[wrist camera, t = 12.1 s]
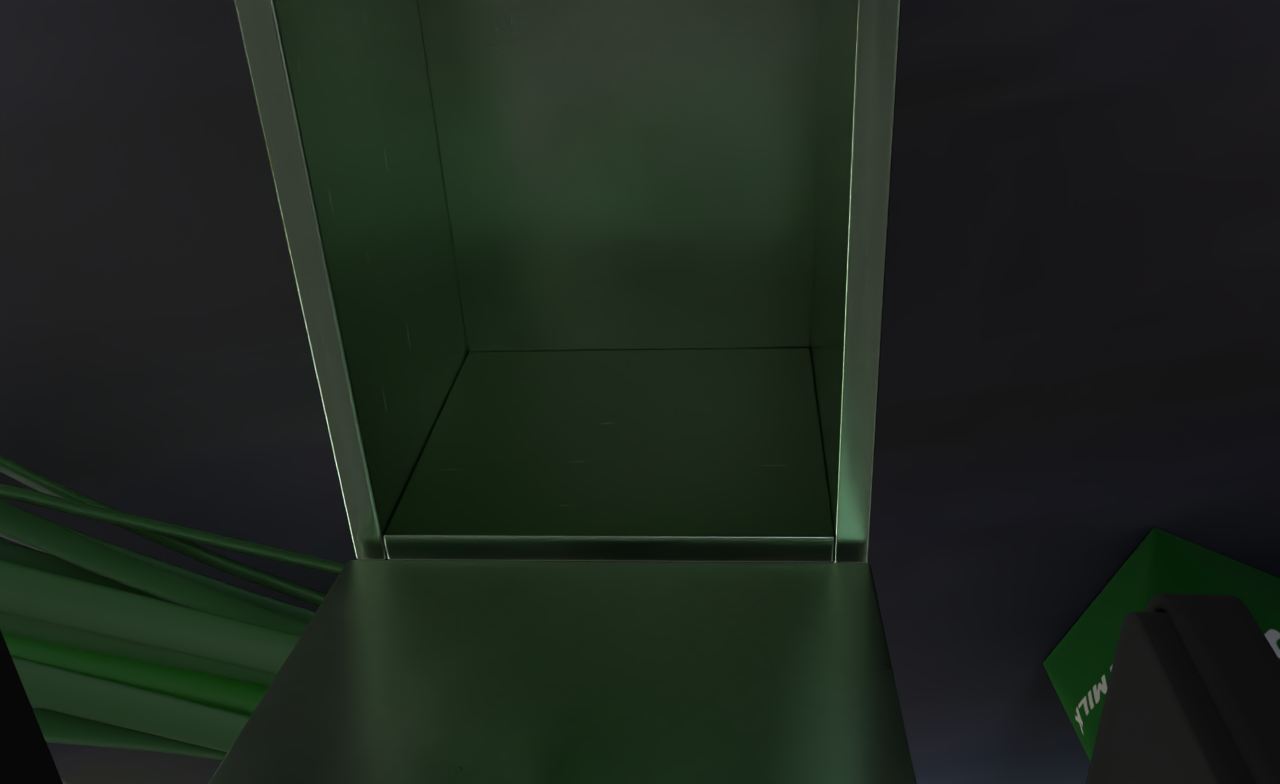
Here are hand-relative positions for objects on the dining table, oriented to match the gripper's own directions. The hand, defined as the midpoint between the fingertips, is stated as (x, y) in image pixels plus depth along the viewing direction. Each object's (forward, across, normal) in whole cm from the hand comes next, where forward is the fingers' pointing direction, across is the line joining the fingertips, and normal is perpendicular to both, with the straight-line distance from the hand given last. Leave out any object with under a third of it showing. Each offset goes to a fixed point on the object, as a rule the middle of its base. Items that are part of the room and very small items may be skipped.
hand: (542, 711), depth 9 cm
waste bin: (+26, +2, +2) cm, 26 cm away
